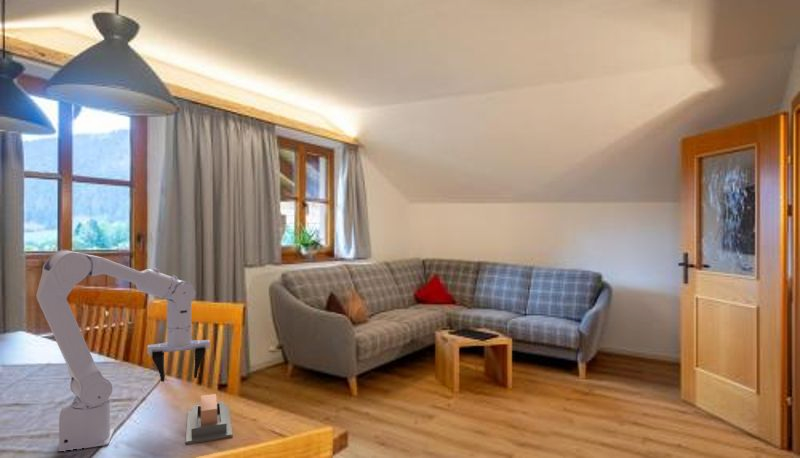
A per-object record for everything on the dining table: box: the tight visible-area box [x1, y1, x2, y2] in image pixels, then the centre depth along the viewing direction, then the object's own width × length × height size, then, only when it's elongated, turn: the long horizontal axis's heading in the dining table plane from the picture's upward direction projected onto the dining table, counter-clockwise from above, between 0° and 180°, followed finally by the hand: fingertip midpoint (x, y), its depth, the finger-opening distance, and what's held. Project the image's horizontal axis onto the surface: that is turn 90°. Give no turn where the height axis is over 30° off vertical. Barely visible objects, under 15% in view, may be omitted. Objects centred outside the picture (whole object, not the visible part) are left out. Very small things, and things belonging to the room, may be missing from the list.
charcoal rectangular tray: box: [185, 400, 233, 445], centre depth 117 cm, size 10×18×3 cm, turn 23°
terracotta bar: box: [200, 393, 218, 425], centre depth 117 cm, size 4×10×5 cm, turn 23°
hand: (179, 378), depth 122 cm, fingers open, 7 cm apart
